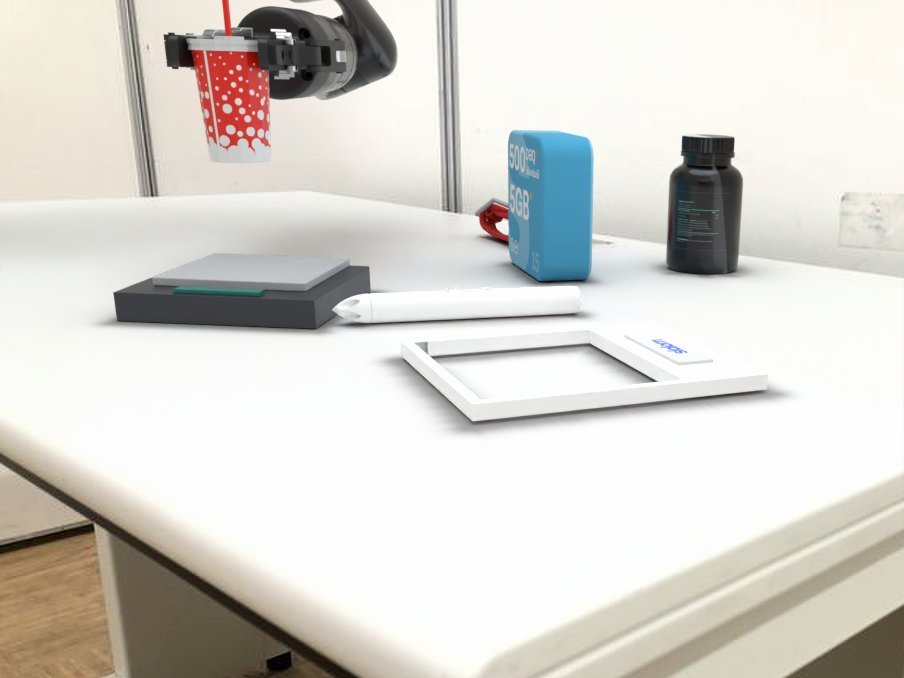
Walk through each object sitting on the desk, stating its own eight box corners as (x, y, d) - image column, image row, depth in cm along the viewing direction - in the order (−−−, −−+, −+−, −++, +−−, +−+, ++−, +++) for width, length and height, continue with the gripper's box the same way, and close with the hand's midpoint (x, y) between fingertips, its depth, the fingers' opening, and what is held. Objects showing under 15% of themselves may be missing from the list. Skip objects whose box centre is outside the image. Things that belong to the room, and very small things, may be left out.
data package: (508, 261, 105) (507, 128, 101) (554, 260, 106) (554, 129, 102) (541, 284, 94) (542, 137, 90) (592, 282, 96) (594, 138, 92)
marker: (334, 328, 77) (332, 294, 76) (331, 321, 78) (329, 288, 78) (581, 316, 83) (581, 284, 82) (572, 310, 85) (572, 279, 84)
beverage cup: (297, 160, 89) (282, -30, 84) (243, 166, 84) (224, -36, 79) (238, 155, 92) (220, -30, 87) (182, 160, 86) (159, -36, 81)
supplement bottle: (684, 259, 109) (690, 132, 105) (749, 267, 106) (757, 136, 102) (653, 269, 103) (657, 135, 99) (719, 277, 100) (727, 139, 96)
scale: (116, 320, 77) (111, 283, 76) (200, 284, 90) (196, 251, 89) (316, 329, 76) (313, 291, 75) (370, 290, 89) (369, 258, 88)
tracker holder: (589, 226, 120) (585, 215, 111) (578, 266, 121) (573, 258, 111) (481, 196, 120) (467, 182, 110) (471, 236, 120) (456, 225, 111)
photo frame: (768, 371, 64) (472, 400, 57) (767, 389, 65) (472, 421, 57) (656, 319, 77) (400, 338, 69) (655, 335, 77) (400, 355, 70)
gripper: (207, 5, 97) (116, -5, 82) (369, 11, 97) (309, 2, 81) (216, 95, 100) (130, 102, 84) (374, 101, 100) (317, 109, 84)
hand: (218, 53), depth 83 cm, fingers closed on beverage cup, 6 cm apart
